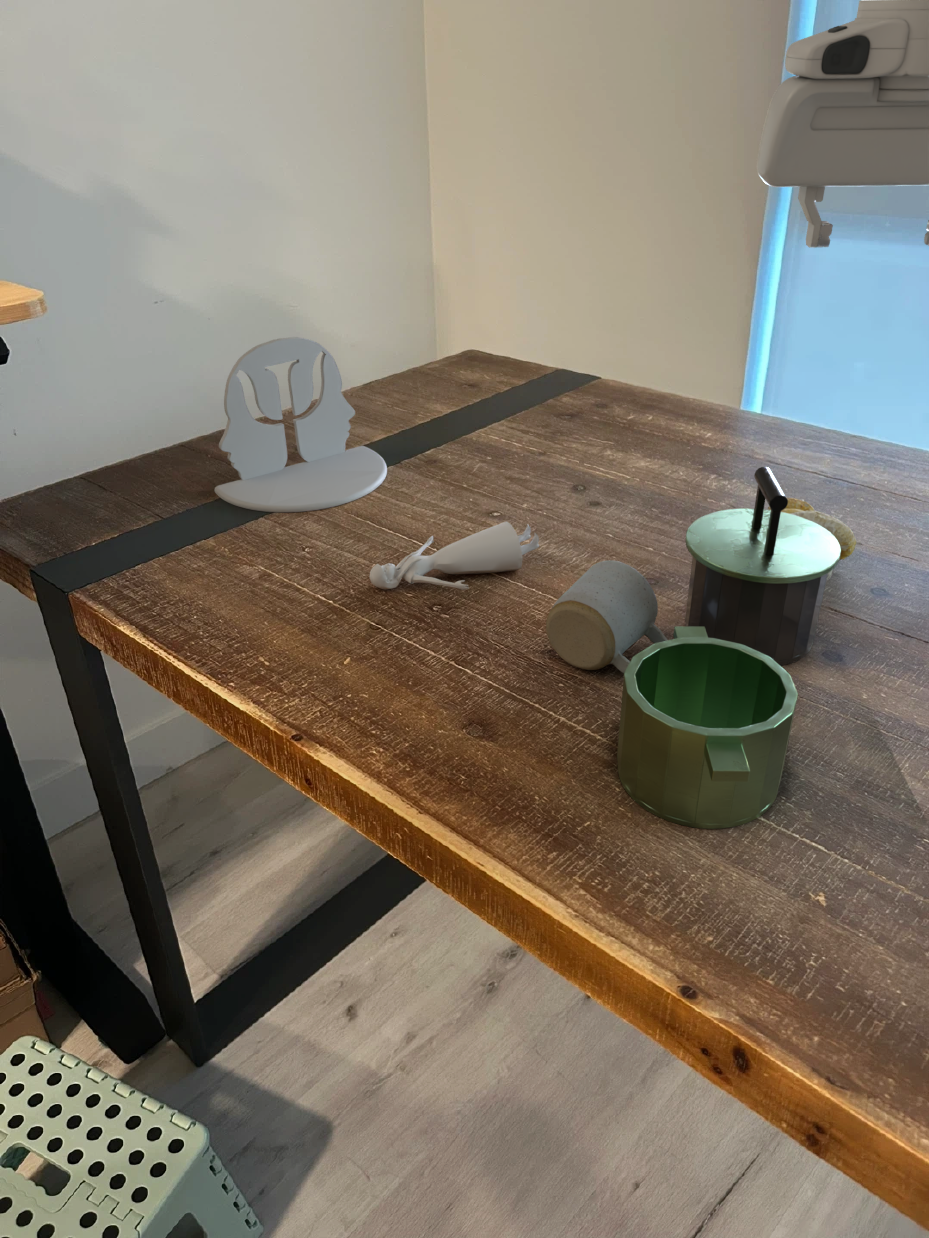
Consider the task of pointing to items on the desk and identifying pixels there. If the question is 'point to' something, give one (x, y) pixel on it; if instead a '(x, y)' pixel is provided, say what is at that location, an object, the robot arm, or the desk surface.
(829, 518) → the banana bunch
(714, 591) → the black cup
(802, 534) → the pot lid
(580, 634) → the ceramic mug
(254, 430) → the ornament
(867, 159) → the robot arm
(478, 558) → the woman figurine
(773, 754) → the pot
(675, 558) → the desk surface
